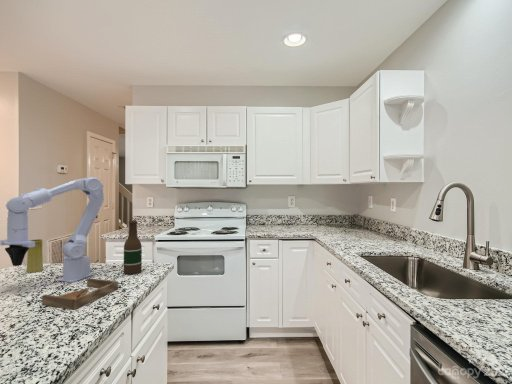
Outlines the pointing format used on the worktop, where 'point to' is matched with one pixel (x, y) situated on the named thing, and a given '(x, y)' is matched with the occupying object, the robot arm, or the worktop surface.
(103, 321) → the worktop surface
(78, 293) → the shard
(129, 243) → the beer bottle
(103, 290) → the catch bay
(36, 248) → the olive green rod
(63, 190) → the robot arm
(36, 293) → the worktop surface
